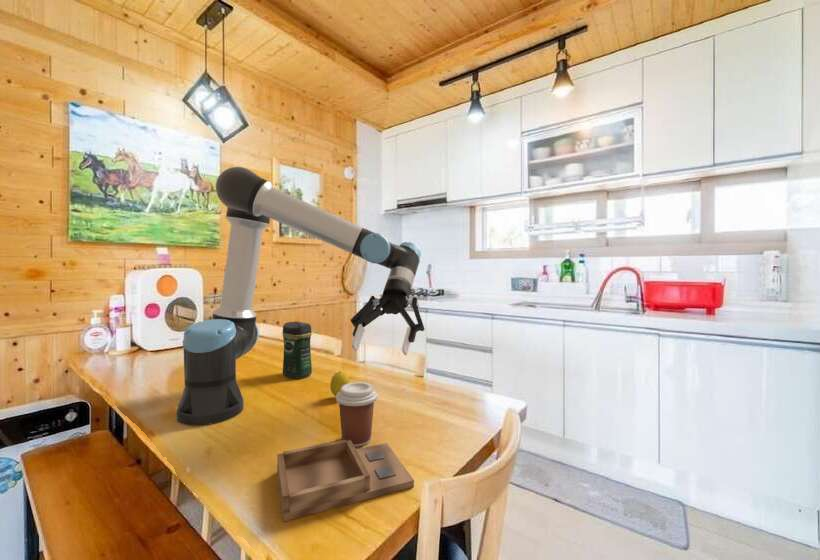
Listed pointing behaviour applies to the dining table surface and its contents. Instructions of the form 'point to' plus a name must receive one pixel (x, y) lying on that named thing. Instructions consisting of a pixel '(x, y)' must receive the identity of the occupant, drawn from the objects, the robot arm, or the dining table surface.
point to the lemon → (338, 382)
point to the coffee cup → (356, 412)
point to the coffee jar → (297, 350)
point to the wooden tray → (336, 476)
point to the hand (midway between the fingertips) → (378, 350)
